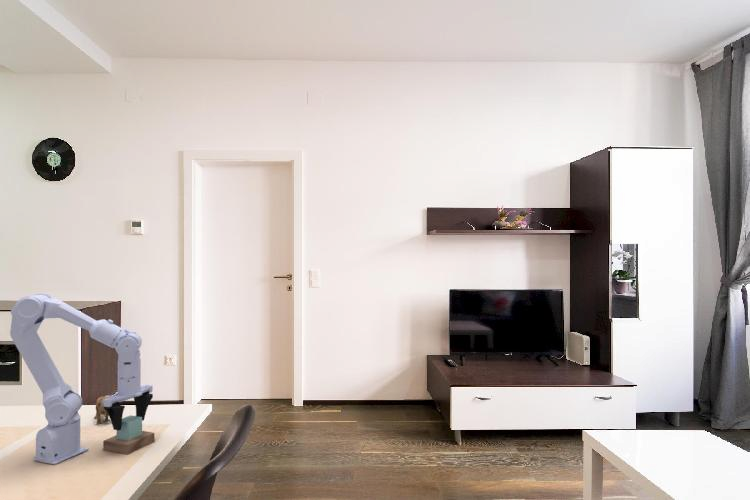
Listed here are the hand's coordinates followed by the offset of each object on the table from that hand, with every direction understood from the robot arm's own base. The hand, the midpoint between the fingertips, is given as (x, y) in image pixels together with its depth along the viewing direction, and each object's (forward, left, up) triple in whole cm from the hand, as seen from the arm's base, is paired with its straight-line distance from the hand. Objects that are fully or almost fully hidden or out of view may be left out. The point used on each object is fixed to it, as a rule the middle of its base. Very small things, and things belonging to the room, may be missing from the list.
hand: (129, 424), depth 127 cm
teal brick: (0, 0, -3) cm, 3 cm away
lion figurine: (+13, +26, -6) cm, 30 cm away
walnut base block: (0, 0, -6) cm, 6 cm away
